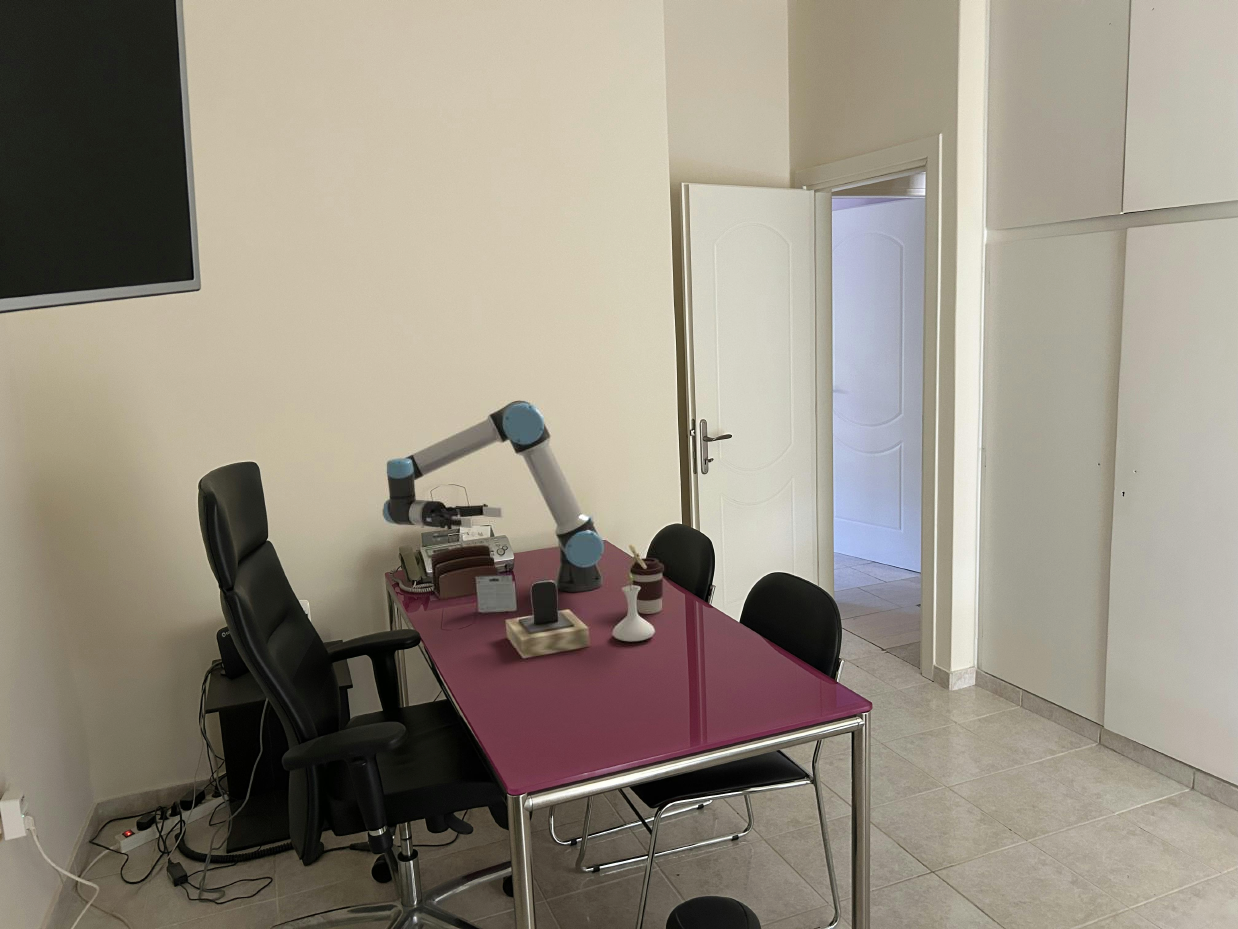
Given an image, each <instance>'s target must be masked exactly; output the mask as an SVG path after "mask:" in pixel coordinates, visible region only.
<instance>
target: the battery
mask: <svg viewBox="0 0 1238 929" xmlns="http://www.w3.org/2000/svg"><path fill="white" fill-rule="evenodd" d="M529 588H530V590H529V591H530V601H531V608H532V615H533V621H534V624H545V623H552V622H557V621H559V618H558V611H559V608H558V607H559V602H558V601H559V600H558V599H559V596H558V589H557V586H556V581H554V580H553V579H549V578H548V579H539V580H535V581H532V582H531V584H530V587H529Z"/></svg>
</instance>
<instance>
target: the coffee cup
mask: <svg viewBox="0 0 1238 929" xmlns="http://www.w3.org/2000/svg"><path fill="white" fill-rule="evenodd" d="M640 559H641V560H642V561H643V562H644V563H645V565H646V567H647V568H646V569H644V568H643V567H642V566H641V565H640V563H639V562H638V561H637V560H634V562H633V564H632V567H631V570H630V573H631V575H632V577H633V578H635V580H633V581H632V586H639V587H640V590H639V592H638V594H637V599H636V609H637V613H638V614H642V615H643V614H644V615H645V614H646V615H651V614H657V613H660V612H661V611H662V608H663V601H662V600H663V599H662V598H663V597H664V596H663V592H664V591H663V590H664V587H663V586H664V576H663V572H665V565H664V563H662V562H660V561H659V559H657V558H652V557H643V558H642V557H641V558H640Z"/></svg>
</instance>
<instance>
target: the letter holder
mask: <svg viewBox="0 0 1238 929" xmlns="http://www.w3.org/2000/svg"><path fill="white" fill-rule="evenodd" d="M490 548H491V547H490V546H489V545H480V544H478V545H468V546H459V547H453V548H449V549H446V550H441V551H438V552H434V553H432V554H431V557H430V563H431V571H432V572H431V573H432V574H431V575H432V584H433V592H435V593H434V594H435V595H436V596H437V597H438V599H439V600H447V599H453V598H458V597H465V596H470V595H477V594H476V593H477V586H476V576H488V575H500V570H499V567H498V566H496V565H495V564H496V563H495V558H494V556H491V549H490ZM490 581H499V579H495V578H493V579H490Z"/></svg>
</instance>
